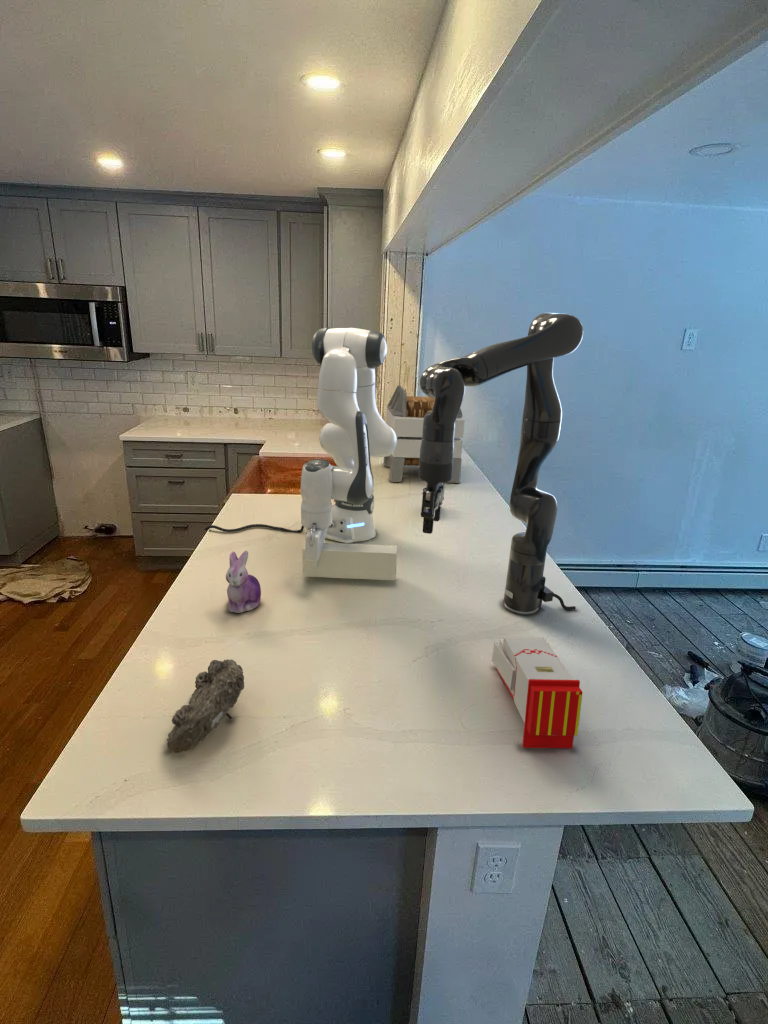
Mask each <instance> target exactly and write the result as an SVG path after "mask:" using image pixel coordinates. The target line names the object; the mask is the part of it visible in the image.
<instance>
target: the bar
mask: <svg viewBox="0 0 768 1024" xmlns="http://www.w3.org/2000/svg"><path fill="white" fill-rule="evenodd" d="M301 549H302V550H301V551H302V552H301V553H302V555H301V557H302V559H301V560H302V564H301V565H302V577H308V578H332V579H354V580H355V579H356V580H380V581H396V580H397V563H398V562H397V561H398V545H391V544H368V543H367V544H365V543H363V544H362V543H343V542H324V544H323V547H322V550H321V553H320V556H319V560H318V568H317V569H312V568H311V561H306V559H305V543H304V544H303V547H302V548H301Z"/></svg>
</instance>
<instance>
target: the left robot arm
mask: <svg viewBox="0 0 768 1024" xmlns="http://www.w3.org/2000/svg"><path fill="white" fill-rule="evenodd" d="M311 341H312V342H311V352H312V356H313V358H314V360H315V361H316V362H317V363H318V364H319V367H320V369H319V373H318V381H317V391H316V405H317V410H318V412H319V413H320V414H321V416H322V417H323V418H324V419H325V420H326V421H328V422H327V423H325V424H324V425H323V426H322V427H321V429H320V432H319V437H318V438H319V439H318V441H319V445H320V447H321V448H322V450H323V451H324V452H325V453H326V454H328V455H329V456H330V457H331V458H332V460H333V461H334V464H335V465H332V464H331V463H330V462H329V461H328V460H327V459H322V458H314V459H310V460H307V461H306V462H305V463H304V464H303V465H302V468H301V474H300V496H301V504H300V525H301V526H300V529H298V530H294V529H293V530H292V529H288V528H286V527H281V526H273V525H269V524H262V523H255V524H247V525H244V526H241V527H238V528H237V527H236V528H232V529H231V528H229V529H228V528H223V527H221V526H218V525H214V524H211V525H208V526H206V527H205V528H204V529H203V531H209V530H210V529H215V530H218V531H221V532H225V533H235V532H240V531H244V530H246V529H250V528H264V529H265V528H267V529H270V530H277V531H282V532H286V533H294V534H295V533H297V534H300V533H302V532H304V529H305V531H307V532H306V535H305V540H304V541H305V542H304V544H305V559H306V561H311V568H312V569H317V568H318V560H319V556H320V553H321V550H322V547H323V544H324V543H325V540H330V541H336V542H338V543H343V544H354V543H357V542H365V541H368V540H372V539H373V538H375V537H376V535H377V532H376V528H375V523H374V513H373V512H374V509H375V496H374V487H375V486H374V474H373V472H372V464H371V458H374V459H379V458H384V457H387V456H390V455H391V454H392V453H393V452H394V451H395V449H396V446H397V436H396V434H395V432H394V430H393V429H392V428H391V427H390V426H388V425H387V423H386V421H385V420H384V419H383V418H382V416H381V414H380V412H379V409H378V406H377V397H376V368H379V367H380V366H381V365H383V364H384V362H385V359H386V357H387V352H388V345H387V339H386V337H385V335H384V334H383V332H381V331H378V330H375V329H370V330H369V329H363V328H358V327H333V328H331V327H329V326H328V327H322V328H318V329H317V331H315V333H314V334H313V337H312V340H311ZM332 500H333V502H334V504H333V503H332Z"/></svg>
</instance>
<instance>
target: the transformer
mask: <svg viewBox="0 0 768 1024" xmlns="http://www.w3.org/2000/svg"><path fill="white" fill-rule="evenodd" d="M407 394H408V393H407V390H406V389H404V388H403V387H402V385H399V384H398V385H397V386H396V388H395V390H394V392H393V394H392V395H391V398H390V400H389V402H388V404H387V405H386V413H385V414H386V415H385V423H386V424H387V425H388V426H390V427H391V428H392V429H393V430H394V432H395V434H396V436H397V446H396V449H395V451H394V452H393V453H392V454H391V455H390V456H387V457H383V466H384V467H388V468H389V475H388V476H389V477H388V478H389V480H390V482H391V483H402V482H403V475H404V469H405V466H406V467H407V466H411V467H412V466H413V467H415V466H416V467H417V466H418V467H419V460H420V447H421V442H422V433H423V420H424V416H425V414H426V413H427V412H429V411H432V410H433V406H434V402H435V399H434V398H431V397H428V396H415V395H414V396H413V395H412V396H411V395H407ZM464 429H465V419H464V418H463V411H462V408H461V407H460V410H459V413H458V416H457V418H456V421H455V434H454V459H453V471H452V479H451V480H450V481H449V482H447V483H449V484H455V483H456V484H459V483H461V472H462V461H463V460H462V453H463V442H464V441H463V440H462V439H463V438H464V431H465V430H464Z"/></svg>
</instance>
